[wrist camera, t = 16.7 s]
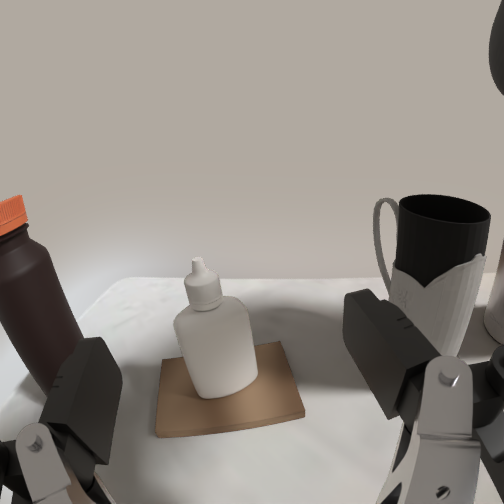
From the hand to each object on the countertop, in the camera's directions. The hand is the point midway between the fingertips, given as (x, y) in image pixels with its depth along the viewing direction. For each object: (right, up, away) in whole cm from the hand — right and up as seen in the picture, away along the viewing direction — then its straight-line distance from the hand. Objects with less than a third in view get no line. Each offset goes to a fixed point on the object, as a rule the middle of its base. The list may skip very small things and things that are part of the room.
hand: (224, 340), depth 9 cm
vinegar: (-16, -12, +15) cm, 25 cm away
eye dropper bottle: (-1, -9, +15) cm, 18 cm away
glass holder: (+16, -7, +17) cm, 25 cm away
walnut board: (-1, -10, +15) cm, 18 cm away
